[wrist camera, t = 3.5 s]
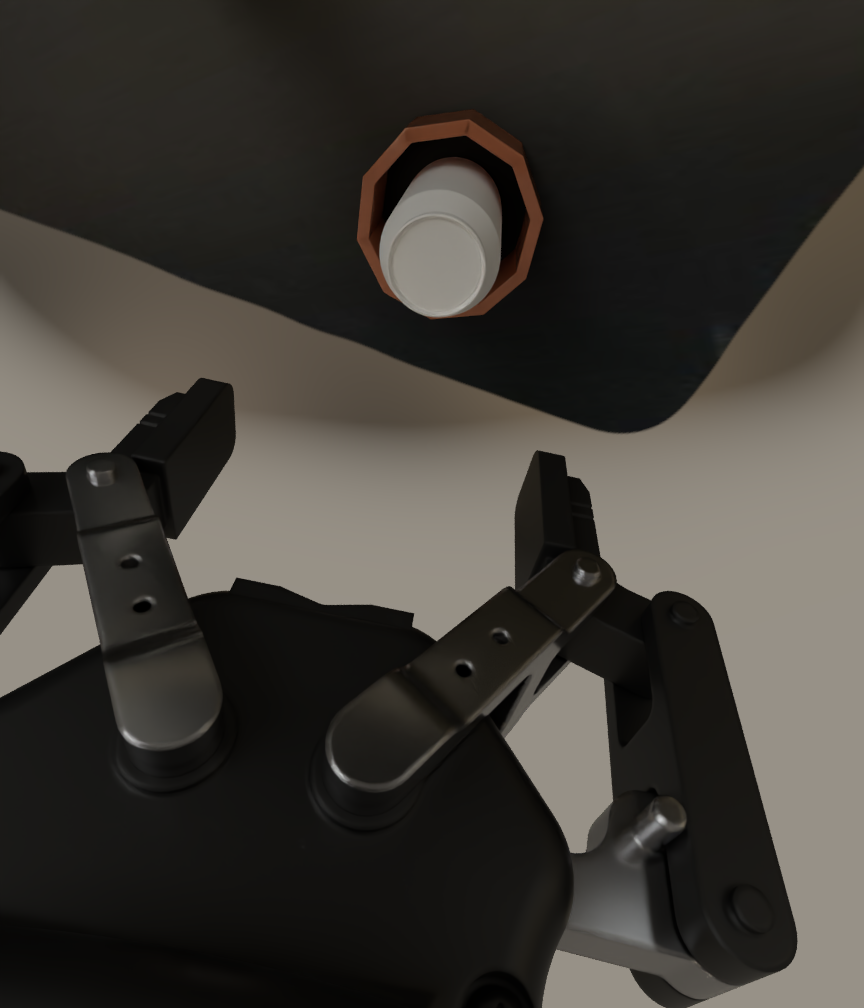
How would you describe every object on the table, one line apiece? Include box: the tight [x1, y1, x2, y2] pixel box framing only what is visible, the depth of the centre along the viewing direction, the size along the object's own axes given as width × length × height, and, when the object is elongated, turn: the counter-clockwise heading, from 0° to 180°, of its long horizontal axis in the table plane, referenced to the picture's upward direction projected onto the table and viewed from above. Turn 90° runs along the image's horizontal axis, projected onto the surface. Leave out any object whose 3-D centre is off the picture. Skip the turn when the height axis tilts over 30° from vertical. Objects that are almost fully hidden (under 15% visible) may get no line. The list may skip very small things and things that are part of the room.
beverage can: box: [379, 157, 502, 317], centre depth 33 cm, size 6×6×12 cm
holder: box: [357, 109, 543, 319], centre depth 35 cm, size 10×11×5 cm
